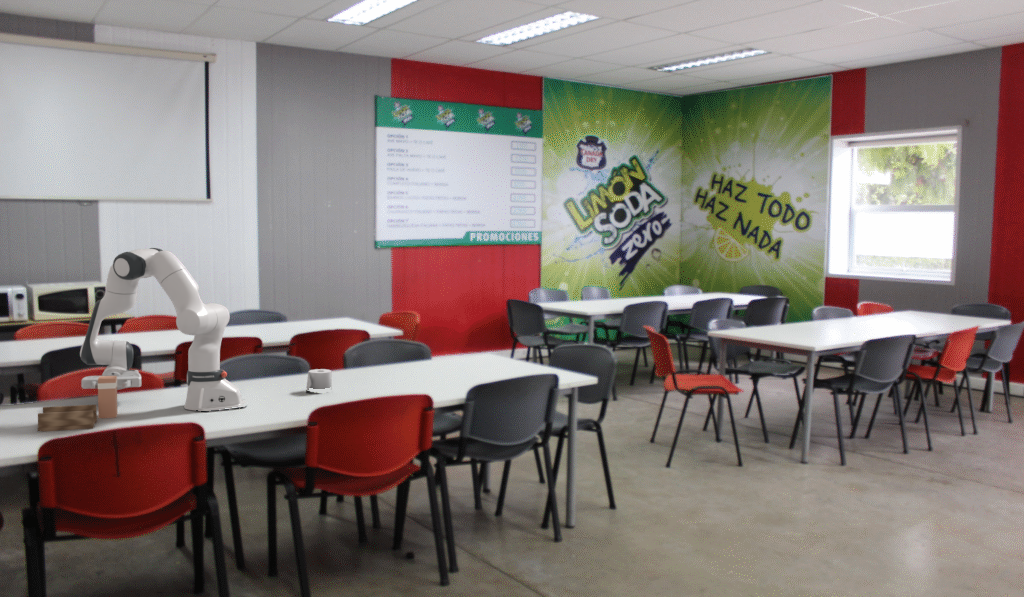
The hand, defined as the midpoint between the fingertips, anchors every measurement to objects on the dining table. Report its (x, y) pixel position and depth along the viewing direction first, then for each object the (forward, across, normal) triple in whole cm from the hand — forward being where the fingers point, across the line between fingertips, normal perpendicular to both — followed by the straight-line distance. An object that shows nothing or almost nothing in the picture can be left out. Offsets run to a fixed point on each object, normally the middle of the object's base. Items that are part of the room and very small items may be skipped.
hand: (110, 385), depth 290 cm
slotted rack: (+23, -11, +8) cm, 27 cm away
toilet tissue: (-12, +77, +8) cm, 78 cm away
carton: (+12, 0, +8) cm, 15 cm away
